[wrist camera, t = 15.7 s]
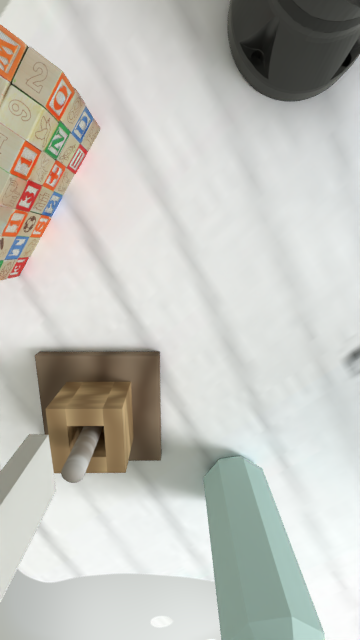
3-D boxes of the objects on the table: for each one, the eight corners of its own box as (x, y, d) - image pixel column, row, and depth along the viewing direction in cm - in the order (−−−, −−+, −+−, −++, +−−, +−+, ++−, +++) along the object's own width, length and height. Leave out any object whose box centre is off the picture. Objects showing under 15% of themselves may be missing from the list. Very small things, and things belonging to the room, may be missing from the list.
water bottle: (210, 445, 46) (246, 668, 22) (271, 456, 47) (372, 685, 23) (195, 496, 49) (214, 748, 24) (254, 506, 49) (328, 761, 25)
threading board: (159, 351, 42) (152, 400, 29) (161, 453, 46) (154, 536, 33) (39, 351, 42) (-23, 400, 29) (52, 453, 46) (3, 537, 33)
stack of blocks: (20, 277, 40) (-47, 292, 28) (-23, 250, 39) (-113, 254, 27) (101, 127, 35) (63, 69, 23) (54, 93, 34) (-11, 13, 22)
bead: (130, 381, 42) (122, 408, 35) (133, 437, 44) (125, 472, 37) (66, 381, 42) (45, 409, 35) (72, 437, 44) (53, 473, 37)
